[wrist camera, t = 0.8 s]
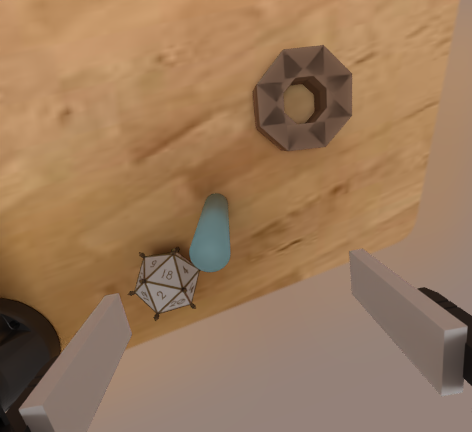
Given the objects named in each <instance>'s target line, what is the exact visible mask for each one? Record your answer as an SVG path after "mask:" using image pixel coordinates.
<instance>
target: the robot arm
mask: <svg viewBox="0 0 472 432" xmlns="http://www.w3.org/2000/svg"><path fill="white" fill-rule="evenodd" d="M349 256H350V272H351V289H352V294H353V296H354V297H355V298H356V299H357V300H358V301H359V302H360V304H361V305H362V306H363V307H364V308H365V309H366V311H367V312H368V313H369V314H370V315H371V316H372V317H373V319H374V320H375V321H376V322H377V323H378V324H379V325H380V326H381V328H382V329H383V330H384V331H385V332H386V333H387V335H388V336H389V337H390V338H391V339H392V340H393V341H394V343H395V344H396V345H397V346H398V347H399V348H400V349H401V351H403V353H404V354H405V355H406V356H407V357H408V359H409V360H410V361H411V362H412V363H413V364H414V365H415V367H416V368H417V369H418V370H419V371H420V372H421V373H422V375H423V376H424V377H425V378H426V379H427V380H428V381H429V383H430V384H431V385H432V386H433V387H434V388H435V389H436V391H437V392H438V393H439V394H440V395H441V396H445V395H451V394H455V393H461V392H463V382H464V379H465V380H466V381H467V382H468V383H469V384H470V385H471V386H472V316H471V315H470V314H468V313H467V312H465V311H463V310H462V309H461V308H459V307H457V306H456V305H455V304H454V303H452V302H451V301H448V300H447V299H446V298H445V297H443V296H442V295H440V294H439V293H437V292H434V291H432V290H430V289H427V288H425V287H424V288H418V289H416V288H415V287H414V286H412V285H411V284H410V283H408V282H407V281H405V280H404V279H403V278H401V277H400V276H399V275H397V274H396V273H395V272H393V271H392V270H391V269H389V268H388V267H386V266H385V265H384V264H382V263H381V262H380V261H379V260H377V259H376V258H374V257H373V256H372V255H370V254H369V253H368V252H366V251H365V250H364V249H358V250H353V251H349ZM131 335H132V332H131V329H130V326H129V323H128V320H127V317H126V314H125V311H124V308H123V305H122V302H121V299H120V296H119V293H116V294H111V295H105V296H104V298H103V299H102V300H101V302H100V303H99V304H98V305H97V307H96V308H95V309H94V311H93V312H92V313H91V315H90V316H89V317H88V319H87V320H86V321H85V323H84V324H83V325H82V327H81V328H80V329H79V330H78V332H77V333H76V334H75V336H74V337H73V338H72V340H71V341H70V342H69V344H68V345H67V346H66V348H65V349H64V350H63V352H62V353H61V354H60V344H59V340H58V337H57V334H56V332H55V330H54V329H53V327H52V326H51V324H50V323H49V322H48V321H47V320H46V319H45V318H44V317H43V316H42V315H41V314H39V313H38V312H37V311H35V310H34V309H32V308H30V307H28V306H26V305H24V304H22V303H19V302H16V301H12V300H7V299H0V432H87V430H88V428H89V426H90V424H91V422H92V419H93V417H94V415H95V413H96V411H97V409H98V406H99V404H100V402H101V400H102V398H103V396H104V394H105V391H106V389H107V387H108V385H109V383H110V381H111V378H112V376H113V374H114V372H115V370H116V368H117V365H118V363H119V361H120V359H121V357H122V355H123V353H124V350H125V348H126V346H127V344H128V342H129V340H130V338H131ZM8 409H9V410H8ZM7 410H8V411H7ZM6 411H7V412H6ZM5 412H6V413H5Z"/></svg>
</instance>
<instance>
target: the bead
mask: <svg viewBox="0 0 472 432" xmlns="http://www.w3.org/2000/svg"><path fill="white" fill-rule="evenodd" d="M298 84H303V85H304V86H305V87H306V88H307V89H309V90H310V91H311V92H312V93H313V94H314V102H315V112H314V113H313V115H312V116H311V117H310V118H309V120H308V121H307V122H306V123H305V124H296V123H295V122H294V121H293V120H292V119H291V118H290V117H289V116H288V115H286V114H285V113H284V98H283V93H284V92H285V90H286V89H287V88H288V86H289V85H298ZM253 100H254V112H255V124H256V129H257V130H258V131H260V132H261V133H262V134H263V135H264V136H265V137H267V138H268V139H269V140H270V141H271V142H272V143H274V144H275V145H276V146H277V147H278V148H279V149H280V150H284V151H293V150H302V149H311V148H320V147H326V146H327V145H328V143H329V142H330V141H331V140H332V139H333V138H334V136H335V135H336V134H337V133H338V132H339V130H340V129H341V128H342V127H343V126H344V125H345V123H346V122H347V121H348V120H349V119H350V118H351V116H352V73H351V72H350V71H349V70H348V69H347V68H346V67H345V66H344V65H343V64H342V63H341V62H340V61H339V60H338V59H337V58H336V57H335V56H334V55H333V54H332V53H331V52H330V51H329V50H328V49H327V48H326V47H325V46H324V45H321V46H312V47H302V48H293V49H284V50H282V52H281V53H280V54H279V56H278V57H277V58H276V60H275V61H274V62H273V64H272V65H271V66H270V68H269V69H268V70H267V71H266V73H265V74H264V75H263V77H262V78H261V79H260V81H259V82H258V83H257V85H256V87H255V88H254V90H253Z"/></svg>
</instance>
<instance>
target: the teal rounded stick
mask: <svg viewBox="0 0 472 432" xmlns="http://www.w3.org/2000/svg"><path fill="white" fill-rule="evenodd" d="M189 255H190V259H191V261H192V263H193V264H194V266H195V267H197V268H198V269H200V270H202V271H205V272H215V271H218V270H220V269H222V268H223V267H225V266H226V264H227V263H228V261H229V259H230V236H229V217H228V202H227V199H226V198H225V197H224V196H223V195H221V194H217V193H215V194H211V195H210V196H208V197H207V199H206V201H205V204H204V207H203V210H202V213H201V216H200V219H199V222H198V225H197V228H196V231H195V234H194V237H193V241H192V244H191V247H190V251H189Z"/></svg>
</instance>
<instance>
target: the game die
mask: <svg viewBox="0 0 472 432" xmlns="http://www.w3.org/2000/svg"><path fill="white" fill-rule="evenodd" d="M178 252H179V248H178V247H177V248H176V249H175V248H174V249H172V250H171V253H164V254H158V255H151V256H145V254H143V253H141V252H139V254H140V256H141V257H142V258H143V262H142V265H141V269H140V272H139V276H138V280H137V283H136V287H135V291H130V293H129V294H128V295H131V296H132V295H134V294H137V295H138V296H139V297H140V298H141V299H142V300H143V301H144V302H145V303H146V304H147V305H148V306H149V307H150V308H151V309H152V310H153V311H155V312H156V315H154V316H155V317H154V319H155V321H156V320H157V319H159V314H161V313H164V312H167V311H171V310H174V309H177V308H181V307H184V306H187V305H190V306H191V307H192V308H194V309H196V306H195V305H194V304H193V303H192V300H193V296H194V292H195V288H196V284H197V280H198V276H199V272H200V271H202V270H200V269H198V268H197V267H195V266H194V264H192V263H191V262H190V261H188V260H187V259H186V258H184V257H183V256H182V255H180V254H179V253H178Z"/></svg>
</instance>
